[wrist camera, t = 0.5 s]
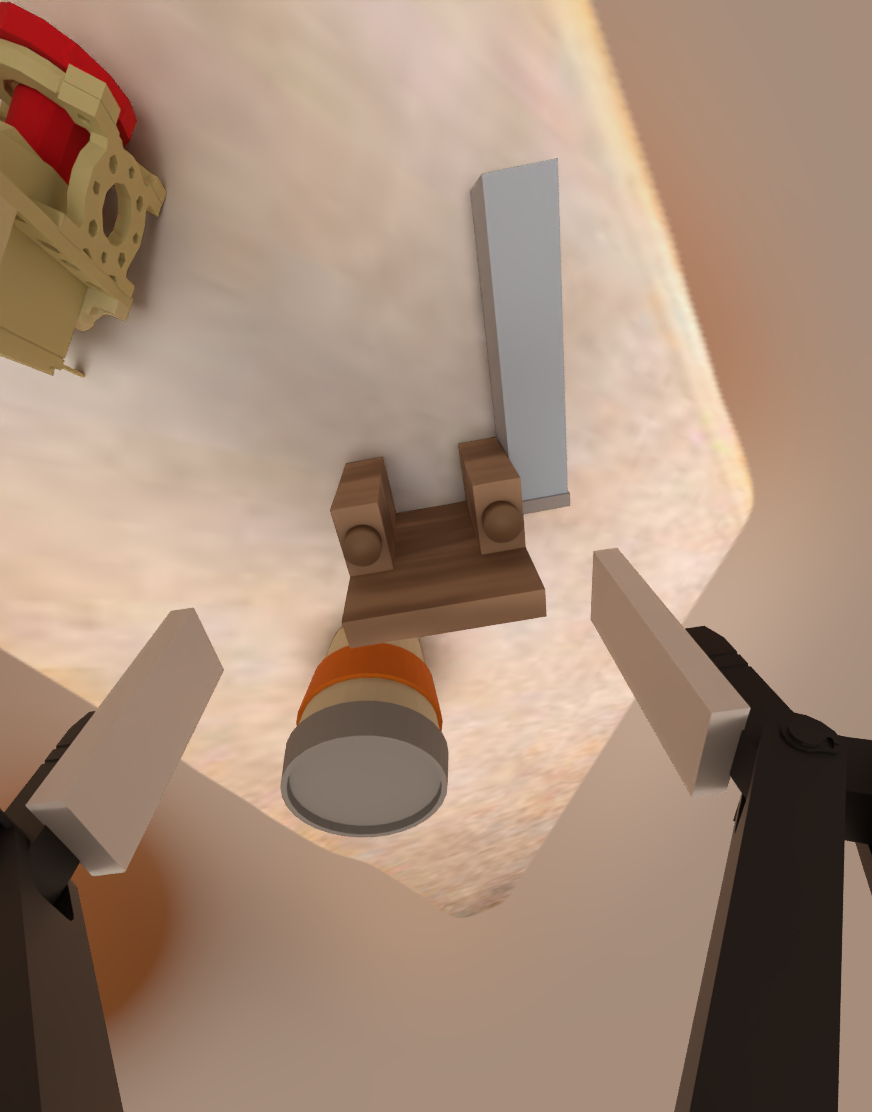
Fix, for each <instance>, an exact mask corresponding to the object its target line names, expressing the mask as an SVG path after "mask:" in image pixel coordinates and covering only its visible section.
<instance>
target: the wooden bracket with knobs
mask: <svg viewBox="0 0 872 1112" xmlns="http://www.w3.org/2000/svg"><path fill="white" fill-rule="evenodd" d="M458 447H459V454H460V461H461V468H462V475H463V483H464V490H465V497H466V502H460V503H454V504H449V505H443V506H437V507H431V508H425V509H420V510H414V511H408V512H402V513H396V511H395V507H394V502H393V498H392V494H391V489H390V485H389V480H388V476H387V471H386V467H385V463H384V458H383V457H380V458H374V459H368V460H363V461H357V462H351V463H346V465H345V468H344V471H343V474H342V477H341V480H340V483H339V486H338V489H337V492H336V495H335V498H334V501H333V503H332V506H331V509H330V512H331V515H332V518H333V522H334V525H335V528H336V532H337V535H338V538H339V541H340V545H341V548H342V551H343V555H344V558H345V561H346V564H347V568H348V571H349V574H350V581H349V586H348V592H347V597H346V602H345V607H344V613H343V618H342V626H343V629H344V632H345V635H346V638H347V640H348V643H349V646H350V648H356V647H362V646H368V645H374V644H380V643H386V642H392V641H399V640H405V639H411V638H417V637H423V636H429V635H435V634H441V633H447V632H454V631H460V630H466V629H472V628H478V627H484V626H490V625H496V624H502V623H509V622H515V621H521V620H527V619H533V618H539V617H545V616H546V598H545V588H544V586H543V584H542V581H541V579H540V577H539V575H538V573H537V571H536V569H535V566H534V564H533V562H532V560H531V558H530V556H529V554H528V551H527V549H526V546H525V532H524V518H523V504H522V491H521V477H520V476H519V474H518V473H517V471H516V469H515V468H514V466H513V464H512V463H511V461H510V459H509V458H508V456H507V455H506V453H505V451H504V450H503V448H502V446H501V445H500V443H499V441H498V440H497V438H496V437H493V438H488V439H482V440H476V441H470V442H465V443H459V444H458Z"/></svg>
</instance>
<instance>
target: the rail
mask: <svg viewBox="0 0 872 1112" xmlns="http://www.w3.org/2000/svg"><path fill="white" fill-rule="evenodd" d="M470 193H471V202H472V212H473V221H474V230H475V240H476V249H477V259H478V268H479V277H480V287H481V296H482V305H483V315H484V324H485V333H486V343H487V352H488V362H489V371H490V380H491V390H492V399H493V408H494V418H495V427H496V437H497V440H498V441H499V443H500V445H501V446H502V448H503V450H504V451H505V453H506V455H507V456H508V458H509V459H510V461H511V463H512V464H513V466H514V468H515V469H516V471H517V473H518V474H519V476H520V477H521V491H522V504H523V514H528V513H533V512H539V511H544V510H550V509H555V508H561V507H566V506H570V493H569V492H568V488H567V454H566V421H565V387H564V353H563V320H562V286H561V252H560V218H559V185H558V158H556V159H551V160H546V161H541V162H537V163H532V164H527V165H522V166H517V167H513V168H508V169H503V170H498V171H493V172H489V173H484V174H482V175H481V176H480V178H479V179H478V181H477V182H476V183H475V185H474V186H473V188H472V189H471V191H470Z"/></svg>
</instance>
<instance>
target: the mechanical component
mask: <svg viewBox="0 0 872 1112" xmlns="http://www.w3.org/2000/svg"><path fill="white" fill-rule="evenodd" d="M0 98H1V99H2V103H1V106H0V356H2V357H5V358H8V359H10V360H13V361H16V362H18V363H21V364H24V365H26V366H29V367H32V368H34V369H36V370H39V371H42V372H44V373H47V374H49V375H52V376H53V374H54V370H55V368H56V369H59V370H61V369H65V370H67V371H69V372H71V373H73V374H76V375H78V376H81V377H85V375H84V374H83V373H81V372H79V371H77V370H74V369H72V368H70V367H68V366H66V365H64V364H63V363H64V360H63V358H65V357H66V353H67V350H68V347H69V344H70V341H71V338H72V335H73V332H74V329H77V330H79V331H82V332H84V331H86V330H88V329H90V328H92V327H93V325H94V323H95V321H96V320H97V319H99V318H100V317H101V316H103V315H110V316H113V317H115V318H118V319H120V320H123V321H125V322H126V320H127V317H128V314H129V311H130V308H131V305H132V302H133V299H132V295H133V292H134V289H135V286H134V285H133V284H132V283H131V282H130V281H129V280H128V279H127V277H126V275H127V270H128V267H129V266H130V264H131V262H132V260H133V258H134V257H135V255H136V253H137V251H138V249H139V248H140V245H141V241H142V236H143V232H144V227H145V220H146V211H147V212H149V213H151V214H153V215H155V216H157V217H158V215H159V212H160V209H161V206H162V205H163V202H164V199H165V196H166V191H165V189H164V187H163V185H162V184H161V182H160V180H159V178H158V177H157V176H155V175H153V174H152V173H150V172H149V171H147V170H146V169H145V168H144V167H143V166H141V165H140V164H139V163H138V162H137V161H136V160H135V159H134V157H133V155H131V154H130V153H129V152H127V151H126V150H125V149H124V148H123V147H125V146H126V145H127V143H128V142H129V141H130V139H131V136H132V133H133V130H134V127H135V124H136V121H137V120H136V117H135V114H134V111H133V109H132V106H131V103H130V101H129V99H128V98H127V97H126V95H125V94H124V93H123V91H122V90H121V89H120V88H119V86H118V85H117V84H116V82H115V81H114V80H113V78H112V77H111V76H110V75H109V74H108V73H107V72H106V71H105V70H104V69H103V68H102V67H101V66H100V65H99V64H98V63H97V62H96V61H95V60H94V59H92V58H91V57H90V56H89V55H88V54H87V53H86V52H85V51H84V50H83V49H82V48H81V47H80V46H79V45H78V44H76V43H75V42H74V41H72V40H71V39H70V38H68V37H67V36H65V35H64V34H63V33H61V32H60V31H59V30H57V29H56V28H55V27H53V26H52V25H50V24H49V23H48V22H46V21H45V20H44V19H42V18H40V17H38V16H36V15H34V14H32V13H30V12H28V11H26V10H24V9H22V8H20V7H18V6H17V5H15V4H13V3H11V2H0ZM113 185H114V186H115V190H116V194H117V197H118V215H117V219H116V222H115V226H114V229H113V231H112V232H111V233H110V235H109V236H108V237H106V235H105V234H104V232H103V219H102V209H103V205H104V201H105V197H106V193H107V191H108V190H109V189H110V188H111V187H112V186H113Z"/></svg>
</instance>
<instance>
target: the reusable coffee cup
mask: <svg viewBox="0 0 872 1112" xmlns="http://www.w3.org/2000/svg"><path fill="white" fill-rule="evenodd" d="M296 723H297V727H296V728H295V729H294V730H293V731H292V733H291V735H290V737H289V739H288V741H287V743H286V750H285V757H284V764H283V772H282V779H281V793H282V798H283V800H284V802H285V804H286V806H287V807H288V808H289V810H290V811H291V812H292V813H293V814H294V815H295V816H296V817H298V818H299V819H300V820H302V821H303V822H304V823H306V824H308V825H310V826H312V827H314V828H316V829H319V830H322V831H325V832H328V833H332V834H336V835H341V836H349V837H377V836H385V835H390V834H394V833H398V832H402V831H405V830H407V829H410V828H412V827H415V826H417V825H418V824H420V823H422V822H424V821H425V820H427V819H428V818H429V817H430V816H432V815H433V814H434V813H435V812H436V811H437V810H438V808H439V807H440V806H441V805H442V803H443V801H444V799H445V796H446V793H447V785H448V747H447V742H446V740H445V738H444V736H443V734H442V732H441V731H442V716H441V711H440V707H439V703H438V699H437V695H436V691H435V686H434V682H433V678H432V675H431V673H430V671H429V669H428V667H427V666H426V665H425V663H424V659H423V655H422V651H421V646H420V642H419V640H418V638H411V639H405V640H399V641H392V642H386V643H380V644H374V645H368V646H362V647H356V648H350V646H349V643H348V640H347V638H346V635H345V632H344V629H343V627H342V628H340V630H339V631H338V632H337V633H336V635H335V637H334V639H333V641H332V644H331V646H330V649H329V651H328V653H327V656H326V658H325V659H324V660H323V661H322V662H321V663H320V665H319V666H318V667H317V669H316V671H315V673H314V675H313V678H312V680H311V683H310V685H309V687H308V690H307V692H306V694H305V697H304V699H303V701H302V704H301V706H300V709H299V711H298V715H297V721H296Z"/></svg>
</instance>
